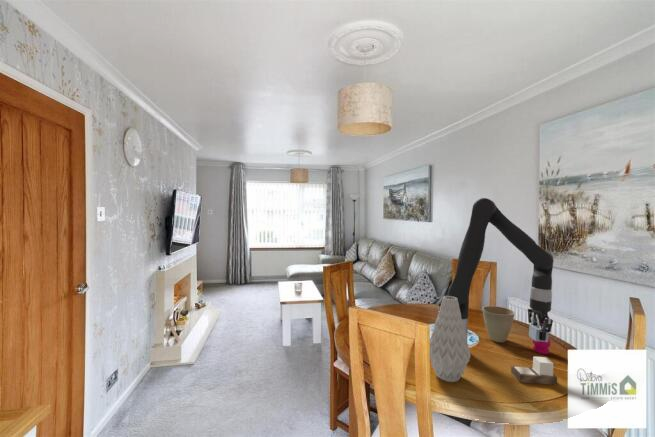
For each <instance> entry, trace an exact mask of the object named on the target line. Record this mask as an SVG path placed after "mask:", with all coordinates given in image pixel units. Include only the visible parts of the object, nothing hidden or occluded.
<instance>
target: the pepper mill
mask: <svg viewBox="0 0 655 437" xmlns="http://www.w3.org/2000/svg"><path fill="white" fill-rule="evenodd" d="M548 318H549V319H551V318H550V316H548ZM541 324H544V323H541ZM547 329H548V328H547ZM532 343H533V351H534V352H536V353H538V354H540V355H541V354H542V355H548V354H549V353H550V347H551V344H552V343H551V340H550V337H549V336H548V342H541V341H535V340H533V339H532Z"/></svg>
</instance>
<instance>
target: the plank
mask: <svg viewBox="0 0 655 437" xmlns="http://www.w3.org/2000/svg"><path fill="white" fill-rule="evenodd" d="M510 374H512V376H513V377H514V378H515V379H516V380H517V381H518V382H519V383H527V384H529V383H530V384H542V385H552V384H557V385H558V377H557V376H556V375H555V374H554V373H553V376H552V375H540V374H538V373H537V372H536V371H535V370H534V369H533V366H531V367H530V366H517V365H511V366H510Z"/></svg>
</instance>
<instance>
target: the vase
mask: <svg viewBox="0 0 655 437" xmlns="http://www.w3.org/2000/svg"><path fill="white" fill-rule="evenodd" d="M429 340H430V356H429V357H430V363H431V366H432V368H433V370H434V372H435V375H436V377H437V378H439V379H440V380H442V381H444V382H448V383H456V382H459V380H460V379H461V377H462V375H464V373H465V370H466V368H467V365H468V363H469V362H470V358H471V353H470V346H469V344H468V336H467V337H466V334H465V330H464V325H463V322H462V318H461V312H460V309H459V304H458V299H457V298H456V297H452V296H448V295H444V296H442V300H441V304H440V306H439V311H438V313H437V317H436V320H435V322H434V325H433V329H432V333H431V335H430V338H429Z"/></svg>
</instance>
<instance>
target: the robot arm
mask: <svg viewBox="0 0 655 437" xmlns="http://www.w3.org/2000/svg"><path fill="white" fill-rule="evenodd" d="M470 214H471V216H470V220H469V225H468V228H467V230H466V233H465V235H464V237H463V238H464V239H463V241H462V243H461V246H460V247H461V248H460V251H459V254H458V258H457V263H456V271H455V274H454V278H453V281H452V283H451V284H450V286H449V287H448V291H447V296H452V297H456V298H457V299H458V304H459V309H460V312H461V318H462V322H463V325H464V330H465V334H466V337H467V338H468V337H469V336H468V334H469V333H468V331H469V328H468V327H469V303H470V302H469V301H470V290H471V285H472V281H473V277H474V276H475V273H476V271H477V268H478V266H479V264H480V261H481V257H482V254H483V252H484V248H485V239H486V233H487V232H486V231H487V228H488V225H489V223H490V224H491V225H492V226H493V227H495V228H496V229H497V230H498V231H499V232H500V233H501V234H502V235H503V236H504V237H505V239H507V241H508V242H510V244H512V246H514V247H515V248H516V249H517V250H518V251H520V252H521V253H522V254H523V255H524V256H525V257H526V258H527V259H528V260H529V262H530V263H532V265H533V272H532V273H533V274H532V277H531V288H530V294H529V308H527V318H528V323H530V325H538V326H539V329H540V332H539V340H541V341H545V340H546V332H549V333H551V332H552V327H553V324H554V323H553V322H554V320H553V319H552V318H550V317H549V314H548V313H549V312H551V310H552V300H553V299H552V298H553V292H552V288H553V278H552V277H553V269H554V268H553V267H554V256H553V255H552V253H550V252H549V251H546V250H544V249H543V248H542V247H540V246H539V245H538V244H537V242H536V240H534V239H533V238H532V237H531V236H529V235H528V234H527V233H526V232H525V231H523V230H522V229H521V228H520V227H519V226H517V225H516V223H514V222H512V221H511V220H510V219H508V217H507V216H506V215H505V214H503V212H502V211H501V210H500V209H499V208H498V206H497V205H496V202H494V201H493V200H491V199H489V198H486V197H482V198H481V197H480V198H479V199H477V200H475V201H474V202H473V204H472V208H471V213H470ZM548 317H549V318H550V319H549V318H548ZM541 323H544V324H541ZM542 326H543V329H542ZM547 328H548V329H547Z"/></svg>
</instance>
